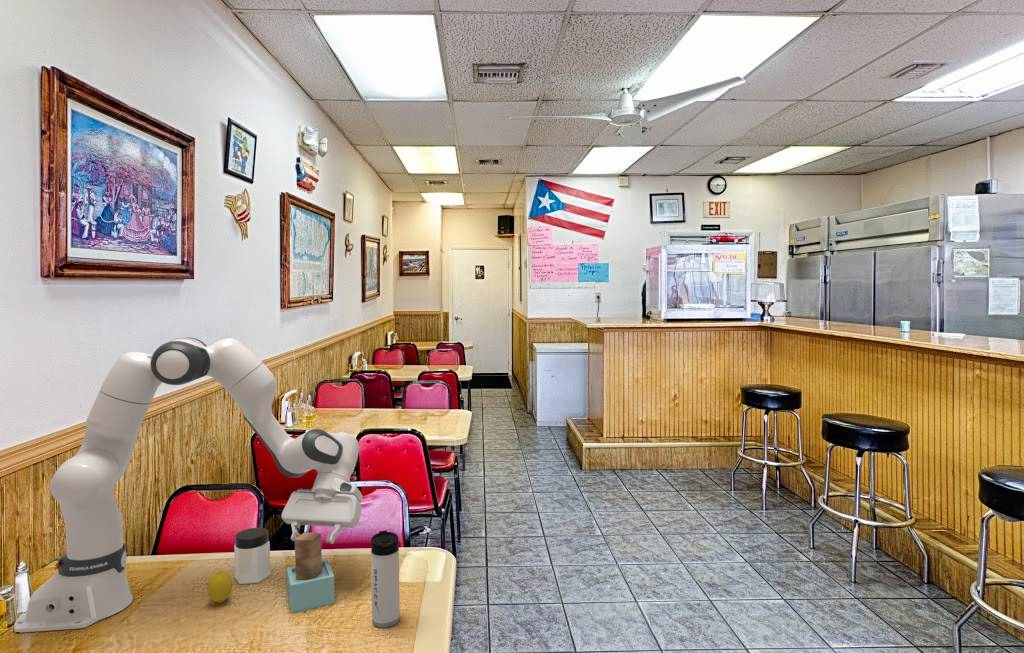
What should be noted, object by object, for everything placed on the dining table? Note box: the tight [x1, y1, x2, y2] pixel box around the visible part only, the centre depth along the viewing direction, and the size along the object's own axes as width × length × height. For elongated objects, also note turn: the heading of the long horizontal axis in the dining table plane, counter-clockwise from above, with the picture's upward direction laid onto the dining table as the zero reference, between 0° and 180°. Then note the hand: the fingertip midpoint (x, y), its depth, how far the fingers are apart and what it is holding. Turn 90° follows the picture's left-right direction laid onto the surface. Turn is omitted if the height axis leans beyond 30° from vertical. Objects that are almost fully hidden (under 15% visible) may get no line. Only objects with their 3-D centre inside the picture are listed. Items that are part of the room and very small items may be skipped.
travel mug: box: [370, 530, 401, 629], centre depth 132 cm, size 6×7×20 cm
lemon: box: [206, 570, 233, 604], centre depth 140 cm, size 6×6×8 cm
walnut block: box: [294, 532, 323, 580], centre depth 142 cm, size 4×4×10 cm
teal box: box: [286, 559, 336, 614], centre depth 142 cm, size 10×10×7 cm
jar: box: [233, 527, 271, 585], centre depth 153 cm, size 9×8×12 cm
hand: (311, 541), depth 143 cm, fingers open, 8 cm apart
